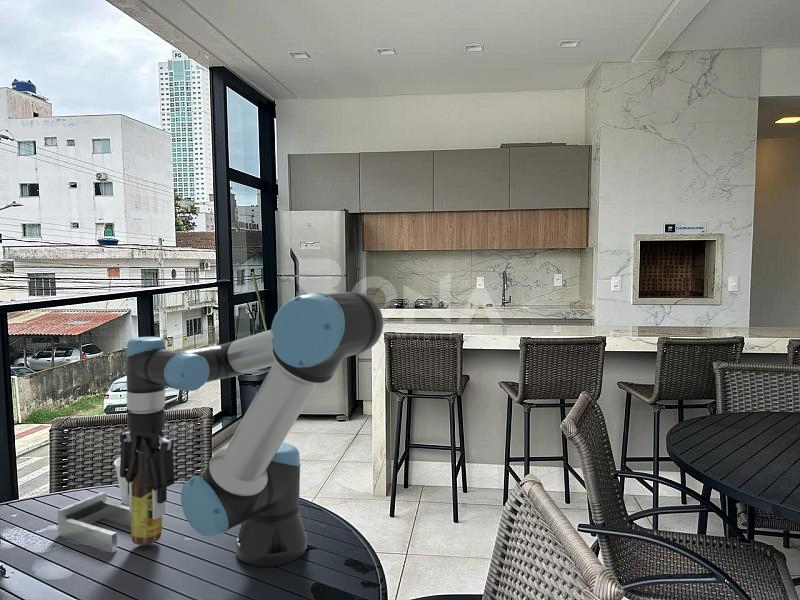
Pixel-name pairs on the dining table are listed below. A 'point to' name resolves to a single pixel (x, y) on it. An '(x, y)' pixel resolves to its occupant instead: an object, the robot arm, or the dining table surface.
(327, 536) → the dining table surface
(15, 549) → the dining table surface
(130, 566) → the dining table surface
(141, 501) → the sauce bottle
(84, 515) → the frame
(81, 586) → the dining table surface
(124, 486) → the cup
